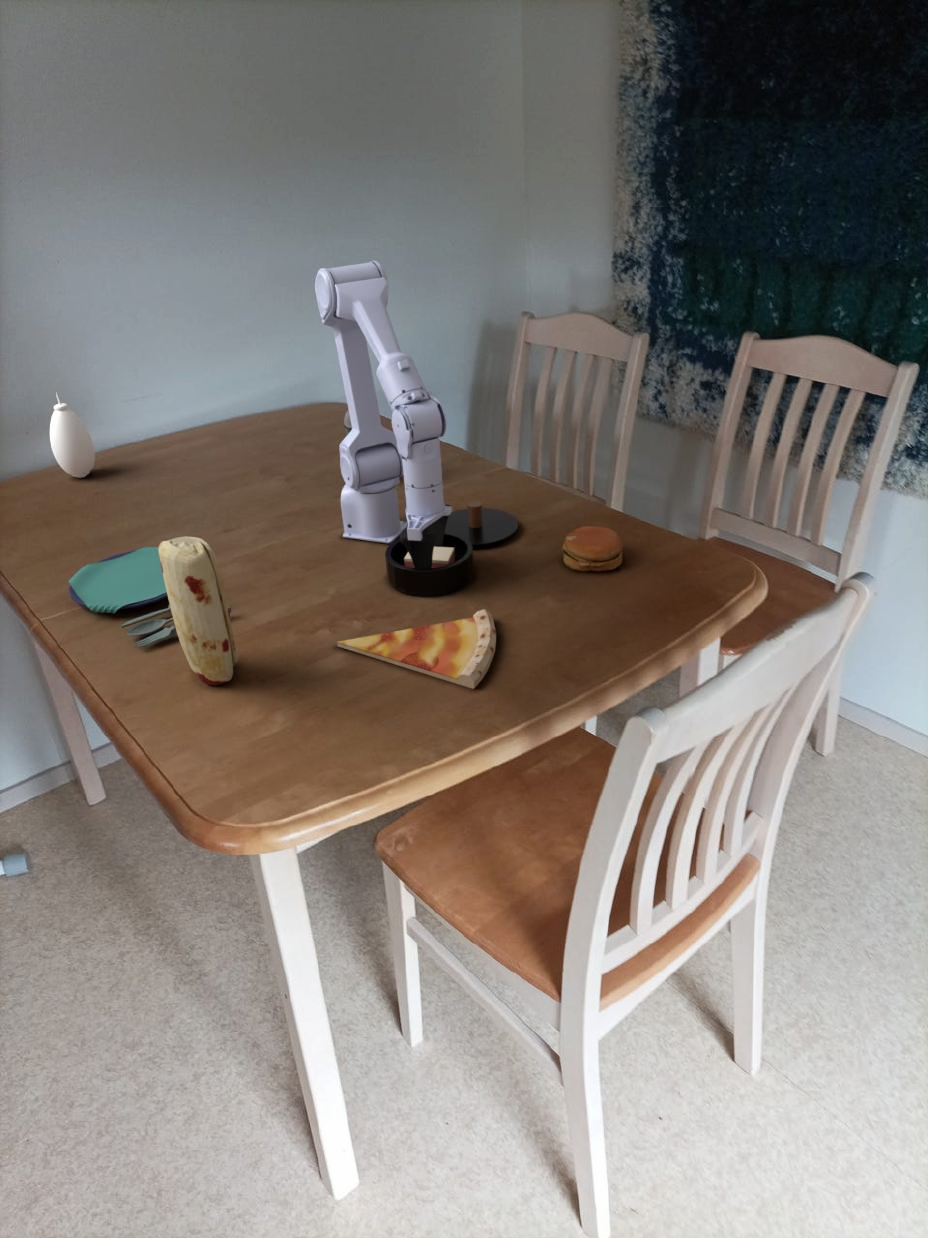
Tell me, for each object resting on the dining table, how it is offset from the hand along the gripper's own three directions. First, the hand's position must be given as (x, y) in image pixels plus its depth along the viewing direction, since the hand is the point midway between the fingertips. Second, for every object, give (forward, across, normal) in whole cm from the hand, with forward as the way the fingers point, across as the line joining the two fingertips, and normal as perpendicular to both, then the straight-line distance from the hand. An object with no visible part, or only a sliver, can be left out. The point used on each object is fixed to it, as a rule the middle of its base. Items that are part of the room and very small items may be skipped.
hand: (429, 561), depth 137 cm
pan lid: (+2, +17, -4) cm, 17 cm away
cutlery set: (+3, -12, +43) cm, 45 cm away
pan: (+2, 0, 0) cm, 2 cm away
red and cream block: (+2, 0, 0) cm, 2 cm away
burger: (+3, +8, -25) cm, 26 cm away
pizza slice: (+3, -18, -5) cm, 19 cm away
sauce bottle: (+3, +34, +84) cm, 91 cm away
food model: (+3, -31, +23) cm, 38 cm away
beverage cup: (+3, +37, +22) cm, 43 cm away
